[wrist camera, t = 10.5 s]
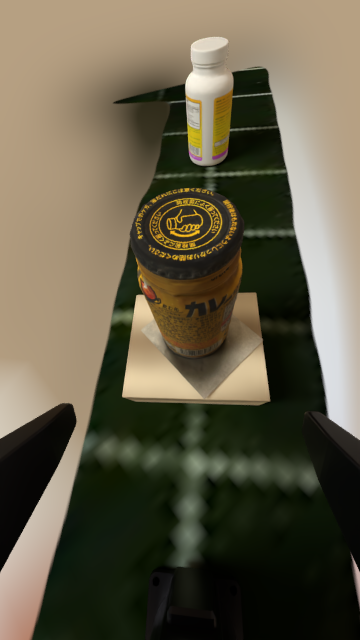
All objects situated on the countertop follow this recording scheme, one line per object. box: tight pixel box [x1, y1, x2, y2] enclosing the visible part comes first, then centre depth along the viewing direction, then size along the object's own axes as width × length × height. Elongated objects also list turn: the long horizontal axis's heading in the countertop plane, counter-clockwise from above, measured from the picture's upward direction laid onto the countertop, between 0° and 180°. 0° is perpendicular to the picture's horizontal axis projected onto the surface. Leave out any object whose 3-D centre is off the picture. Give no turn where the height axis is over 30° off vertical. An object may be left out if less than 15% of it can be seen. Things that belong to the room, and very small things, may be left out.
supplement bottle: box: [185, 37, 233, 166], centre depth 33 cm, size 7×7×13 cm
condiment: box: [130, 188, 263, 399], centre depth 15 cm, size 7×8×12 cm
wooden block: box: [122, 293, 270, 405], centre depth 22 cm, size 10×12×4 cm
